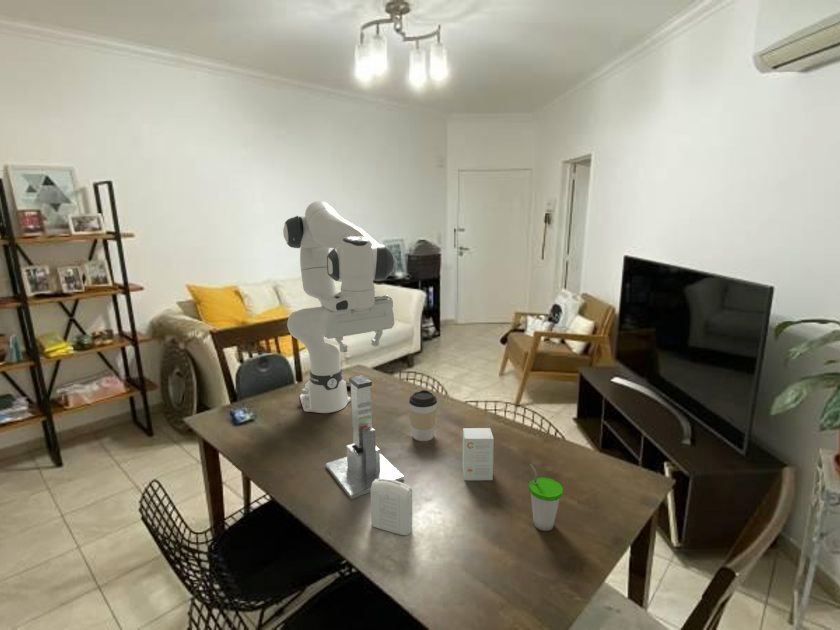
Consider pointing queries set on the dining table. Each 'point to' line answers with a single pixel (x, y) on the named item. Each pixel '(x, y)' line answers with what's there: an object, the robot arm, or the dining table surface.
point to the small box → (478, 454)
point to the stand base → (362, 467)
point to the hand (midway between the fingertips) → (359, 348)
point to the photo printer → (391, 506)
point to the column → (360, 407)
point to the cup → (544, 501)
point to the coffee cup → (423, 415)
